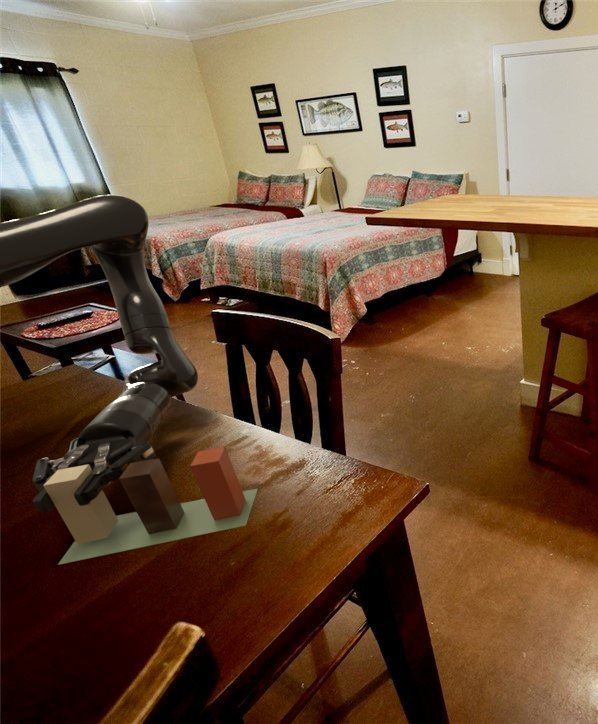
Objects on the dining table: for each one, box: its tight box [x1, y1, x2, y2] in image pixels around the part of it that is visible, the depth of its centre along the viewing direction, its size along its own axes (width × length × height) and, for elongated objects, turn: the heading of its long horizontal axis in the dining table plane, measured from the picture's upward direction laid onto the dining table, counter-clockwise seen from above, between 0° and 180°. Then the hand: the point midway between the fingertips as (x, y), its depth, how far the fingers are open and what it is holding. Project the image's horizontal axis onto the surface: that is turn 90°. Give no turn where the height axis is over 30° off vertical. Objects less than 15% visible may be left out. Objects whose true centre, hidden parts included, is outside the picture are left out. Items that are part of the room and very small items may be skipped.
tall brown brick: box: [119, 457, 184, 534], centre depth 66 cm, size 3×3×10 cm
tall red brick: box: [189, 446, 246, 520], centre depth 68 cm, size 3×3×10 cm
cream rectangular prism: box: [43, 464, 118, 544], centre depth 63 cm, size 3×3×10 cm
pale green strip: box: [57, 488, 259, 566], centre depth 68 cm, size 22×8×1 cm, turn 107°
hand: (61, 503), depth 60 cm, fingers closed on cream rectangular prism, 3 cm apart
